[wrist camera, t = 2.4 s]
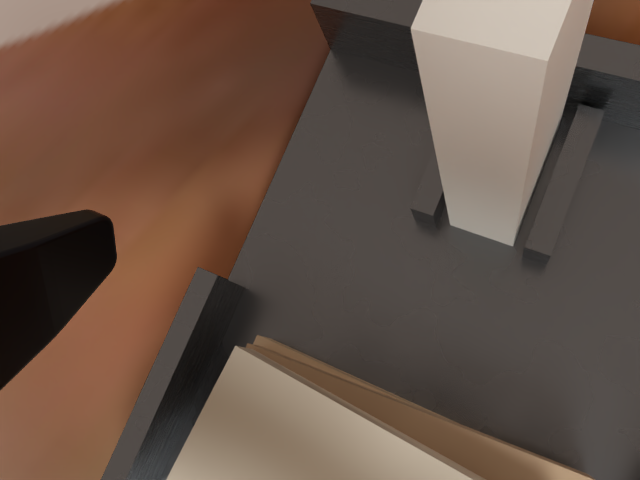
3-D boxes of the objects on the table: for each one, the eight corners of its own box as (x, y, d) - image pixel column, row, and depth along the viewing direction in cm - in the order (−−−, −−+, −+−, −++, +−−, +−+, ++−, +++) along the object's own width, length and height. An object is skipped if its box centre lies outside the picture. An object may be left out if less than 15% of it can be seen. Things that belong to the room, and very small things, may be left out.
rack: (581, 778, 17) (607, 884, 13) (138, 508, 22) (68, 530, 19) (787, 150, 20) (857, 92, 16) (346, 39, 25) (322, -24, 21)
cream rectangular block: (512, 246, 20) (548, 61, 9) (450, 225, 21) (410, 28, 10) (558, 127, 21) (645, -187, 10) (496, 110, 22) (508, -200, 10)
